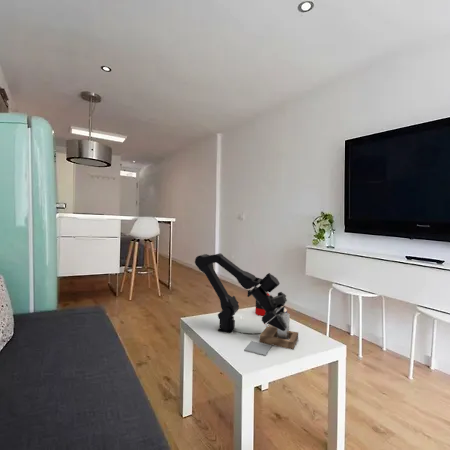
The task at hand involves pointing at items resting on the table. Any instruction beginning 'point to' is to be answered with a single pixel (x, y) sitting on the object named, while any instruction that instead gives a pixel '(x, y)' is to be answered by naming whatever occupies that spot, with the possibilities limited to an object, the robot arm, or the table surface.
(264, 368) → the table surface
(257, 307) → the soda can
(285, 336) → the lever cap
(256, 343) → the rubber mat
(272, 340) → the brown wooden rectangular frame
